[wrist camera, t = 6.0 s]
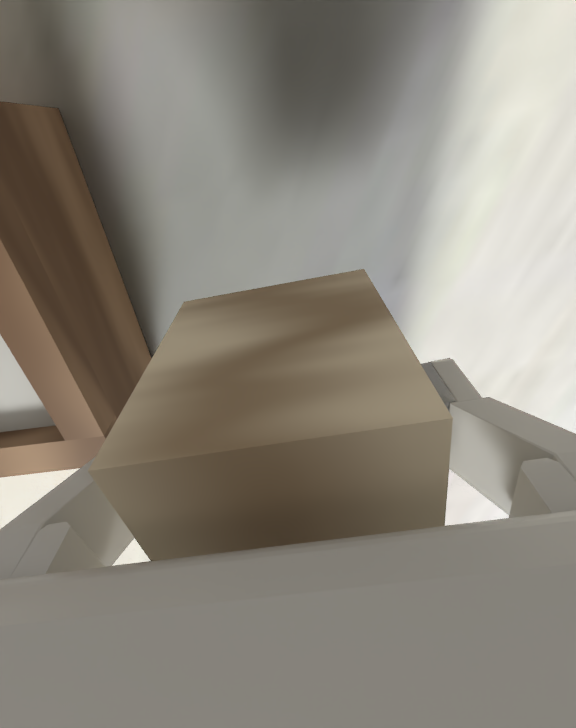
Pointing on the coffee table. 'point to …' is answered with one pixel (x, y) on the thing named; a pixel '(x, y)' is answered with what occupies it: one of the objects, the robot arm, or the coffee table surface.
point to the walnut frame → (57, 304)
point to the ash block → (278, 425)
